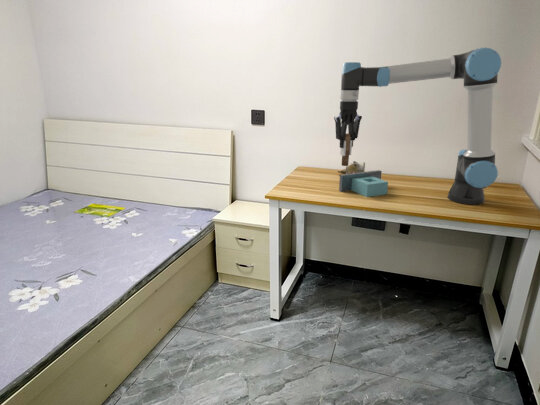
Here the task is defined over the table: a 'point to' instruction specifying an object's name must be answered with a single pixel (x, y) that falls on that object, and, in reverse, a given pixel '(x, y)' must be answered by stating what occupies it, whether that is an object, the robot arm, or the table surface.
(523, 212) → the table surface
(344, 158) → the dowel
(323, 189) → the table surface
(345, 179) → the backstop
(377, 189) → the block
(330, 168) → the table surface
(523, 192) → the table surface
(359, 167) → the ceramic sculpture
